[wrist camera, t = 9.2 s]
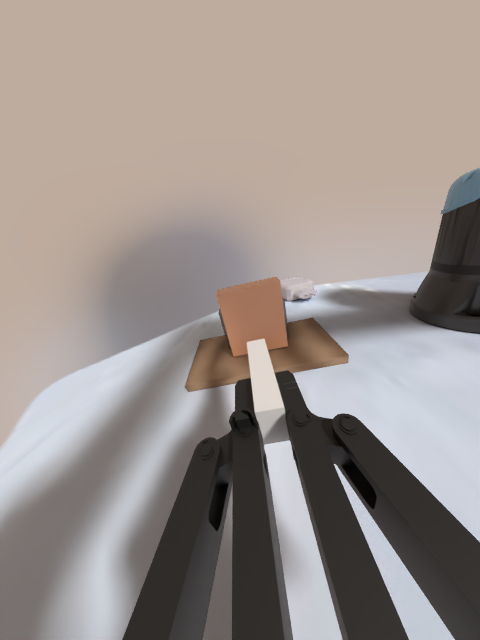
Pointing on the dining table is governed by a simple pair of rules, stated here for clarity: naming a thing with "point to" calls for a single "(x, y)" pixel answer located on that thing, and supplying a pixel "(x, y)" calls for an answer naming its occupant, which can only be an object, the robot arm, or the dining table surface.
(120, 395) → the dining table surface
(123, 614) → the dining table surface
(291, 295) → the charger
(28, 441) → the dining table surface
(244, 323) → the orange block
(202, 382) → the base board
